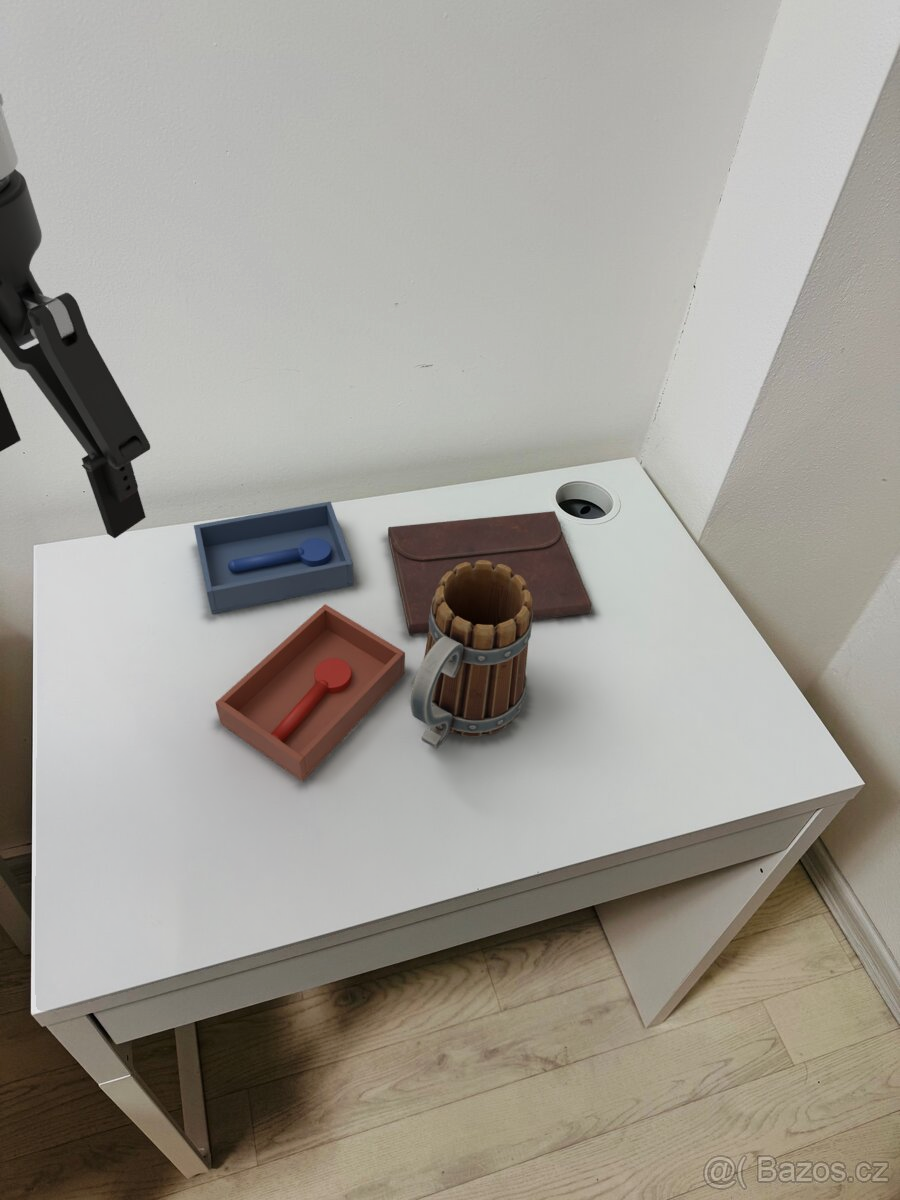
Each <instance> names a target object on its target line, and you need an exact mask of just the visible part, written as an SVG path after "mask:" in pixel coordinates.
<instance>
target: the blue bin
mask: <svg viewBox="0 0 900 1200" xmlns="http://www.w3.org/2000/svg"><path fill="white" fill-rule="evenodd" d="M193 529H194V535H195V540H196V545H197V550H198V556H199V561H200V565H201V570H202V576H203V581H204V587H205V591H206V596H207V600H208V604H209V608H210V613H211V615H215V614H219V613H224V612H231V611H235V610H239V609H245V608H249V607H255V606H260V605H265V604H269V603H275V602H279V601H283V600H284V601H285V600H289V599H294V598H299V597H304V596H309V595H314V594H318V593H323V592H329V591H333V590H334V591H335V590H339V589H343V588H349V587H354V567H353V565H354V564H353V561H352V558H351V554H350V552H349V549H348V547H347V544H346V541H345V538H344V535H343V533H342V529H341V527H340V523H339V521H338V519H337V515H336V512H335V510H334V507H333V504H332V501H326V502H318V503H312V504H307V505H300V506H296V507H291V508H285V509H279V510H278V509H277V510H273V511H267V512H262V513H256V514H249V515H243V516H238V517H233V518H227V519H222V520H215V521H210V522H204V523H199V524H194V525H193ZM311 538H320V539H324V540H325V541H327V542H328V543H329V544H330V546H331V558H330V560H329V561H328V562H327V563H326V564H324V565H322V566H317V567H311V566H307V565H305V564H303V563H302V562H301V561H300V560H299V561H293V562H288V563H283V564H278V565H273V566H267V567H262V568H257V569H252V570H246V571H241V572H236V573H234V572H231V571H230V570H229V569H228V564H229V562H230V561H231V560H235V559H240V558H245V557H251V556H256V555H262V554H267V553H272V552H278V551H283V550H288V549H294V548H299V546H300V544H301V543H302V542H304V541H305V540H307V539H311Z"/></svg>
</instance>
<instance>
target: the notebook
mask: <svg viewBox="0 0 900 1200" xmlns="http://www.w3.org/2000/svg"><path fill="white" fill-rule="evenodd" d="M387 536H388V537H387V538H388V545H389V548H390V553H391V557H392V562H393V566H394V572H395V576H396V581H397V585H398V590H399V594H400V600H401V604H402V609H403V613H404V619H405V623H406V626H407V627H406V628H407V632H408V635H417V634H426V633H429V616H430V611H431V606H432V601H433V598H434V596H435V593H436V589H437V588H438V585H439V582H440V581H441V579H442V577H443V576H444V575H445V574H446V573H447V572H449V571H452V572H453V569H454V568H455V567H456V566H457V565H459V564H462V563H465V562H467V563H470V564H471V565H472V566H473V565H474V564H475V563H476V562H477V561H479V560H485V561H489V562H491V563H492V564H493V566H494V567H496V566H497V565H498V564H503V565H505V566H507V567H509V568H510V569H511V570H512V571H513V573H514V576H515V575H516V574H517V575H520V576H521V577H522V578H523V579H524V581H525V582H526V584H527V587H528V591H529V592H530V594H531V598H532V612H533V617H532V621H535V620H542V619H551V618H560V617H561V618H562V617H569V616H577V615H584V614H590V613H591V612H592V601H591V599H590V596H589V594H588V592H587V589H586V587H585V584H584V582H583V579H582V577H581V574H580V572H579V569H578V567H577V565H576V562H575V560H574V557H573V555H572V552H571V550H570V547H569V545H568V542H567V540H566V537H565V536H564V533H563V531H562V526H561V523H560V520H559V518H558V516H557V513H556V511H555V510H553V511H543V512H542V511H541V512H532V513H531V512H530V513H522V514H521V513H520V514H511V515H499V516H490V517H489V516H488V517H479V518H470V519H469V518H467V519H459V520H447V521H439V522H438V521H437V522H428V523H427V522H426V523H416V524H407V525H395V526H388V528H387Z"/></svg>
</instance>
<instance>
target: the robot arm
mask: <svg viewBox="0 0 900 1200" xmlns="http://www.w3.org/2000/svg"><path fill="white" fill-rule="evenodd" d="M3 106H4V99H3V95H2V93H0V350H1V352H2V354H4V356H5V357H6V359H7V360H8V361H9V363H11V365H12V366H13V368H15V369H16V370H23V371H25V372H26V373H28V376H29V377H30V378H31V379H32V380H33V381H34V384H36V386H37V387H38V389H39V390H40V391H41V393H42V394H43V395H44V397H45V398H46V399H47V401H48V402H49V404H50V405H51V406H52V407H53V409H54V411H56V413H57V415H58V416H59V417H60V419H61V420H62V421H63V422H64V424H65V425H66V427H67V428H68V430H69V431H70V432H71V434H72V435H73V436H74V438H75V439H76V441H77V442H78V443H79V444H80V446H81V447H82V449H83V450H84V451H85V452H86V454H87V455H85V456H83V457H82V458H81V462H82V464H81V466H82V468H83V469H84V470H85V473H86V476H87V479H88V481H89V484H90V488H91V490H92V493H93V496H94V499H95V502H96V505H97V507H98V510H99V514H100V516H101V520H102V523H103V525H104V529H105V531H106V534H107V535H108V536H110V537H112V538H113V539H116V538H118V537H119V536H121V535H122V534H124V533H125V532H126V531H129V530H130V529H131V528H132V527H134V526H135V525H137V524H138V523H139V522H141V521H143V520H145V518H146V517H147V516H146V512H145V509H144V506H143V503H142V499H141V495H140V492H139V485H138V481H137V479H136V475H135V472H134V467H133V465H132V462H133V461H134V460H136V459H137V458H139V457H141V456H142V455H143V454H145V453H147V452H148V451H149V450H151V444H150V441H149V439H148V438H147V436H146V434H145V432H144V431H143V429H142V427H141V425H140V423H139V422H138V420H137V418H136V416H135V415H134V413H133V411H132V409H131V407H130V405H129V403H128V402H127V400H126V398H125V396H124V394H123V392H122V391H121V390H120V387H119V385H118V384H117V382H116V380H115V378H114V376H113V375H112V373H111V371H110V369H109V368H108V366H107V364H106V362H105V360H104V358H103V356H102V355H101V354H100V351H99V350H98V347H97V346H96V344H95V343H94V341H93V339H92V336H91V335H90V333H89V331H88V328H87V325H86V322H85V320H84V317H83V314H82V311H81V308H80V306H79V303H78V302H77V300H76V299H75V297H74V296H73V295H72V294H71V293H69V292H64V293H62V294H60V295H57V296H55V297H54V298H52V297H49V296H46V295H44V293H43V291H42V289H41V287H40V286H39V284H38V282H37V281H36V279H35V277H34V274H33V273H32V271H31V269H30V267H31V263H32V259H33V257H34V255H35V254H36V252H37V251H38V249H39V247H40V245H41V243H42V239H43V238H42V237H43V235H42V228H41V225H40V222H39V219H38V216H37V213H36V209H35V207H34V206H35V205H34V204H33V200H32V197H31V193H30V189H29V187H28V184H27V180H26V178H25V176H24V175H23V174H22V173H21V172H20V171H18V170H17V169H16V167H17V166H18V163H19V159H18V155H17V151H16V148H15V146H14V142H13V139H12V135H11V132H10V129H9V127H8V123H7V120H6V117H5V113H4V111H3ZM35 339H36V340H37V342H38V343H36V344H34V345H32V346H29V347H28V348H21V347H22V346H24V345H26V344H28V343H30V342H33V341H34V340H35ZM21 441H22V438H21V436H20V433H19V432H18V429H17V426H16V424H15V421H14V419H13V417H12V414H11V412H10V409H9V407H8V404H7V402H6V399H5V397H4V394H3V392H2V390H1V388H0V453H1V452H2V451H5V450H6V449H7V448H10V447H11V446H14V445H15V444H17V443H19V442H21Z"/></svg>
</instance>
